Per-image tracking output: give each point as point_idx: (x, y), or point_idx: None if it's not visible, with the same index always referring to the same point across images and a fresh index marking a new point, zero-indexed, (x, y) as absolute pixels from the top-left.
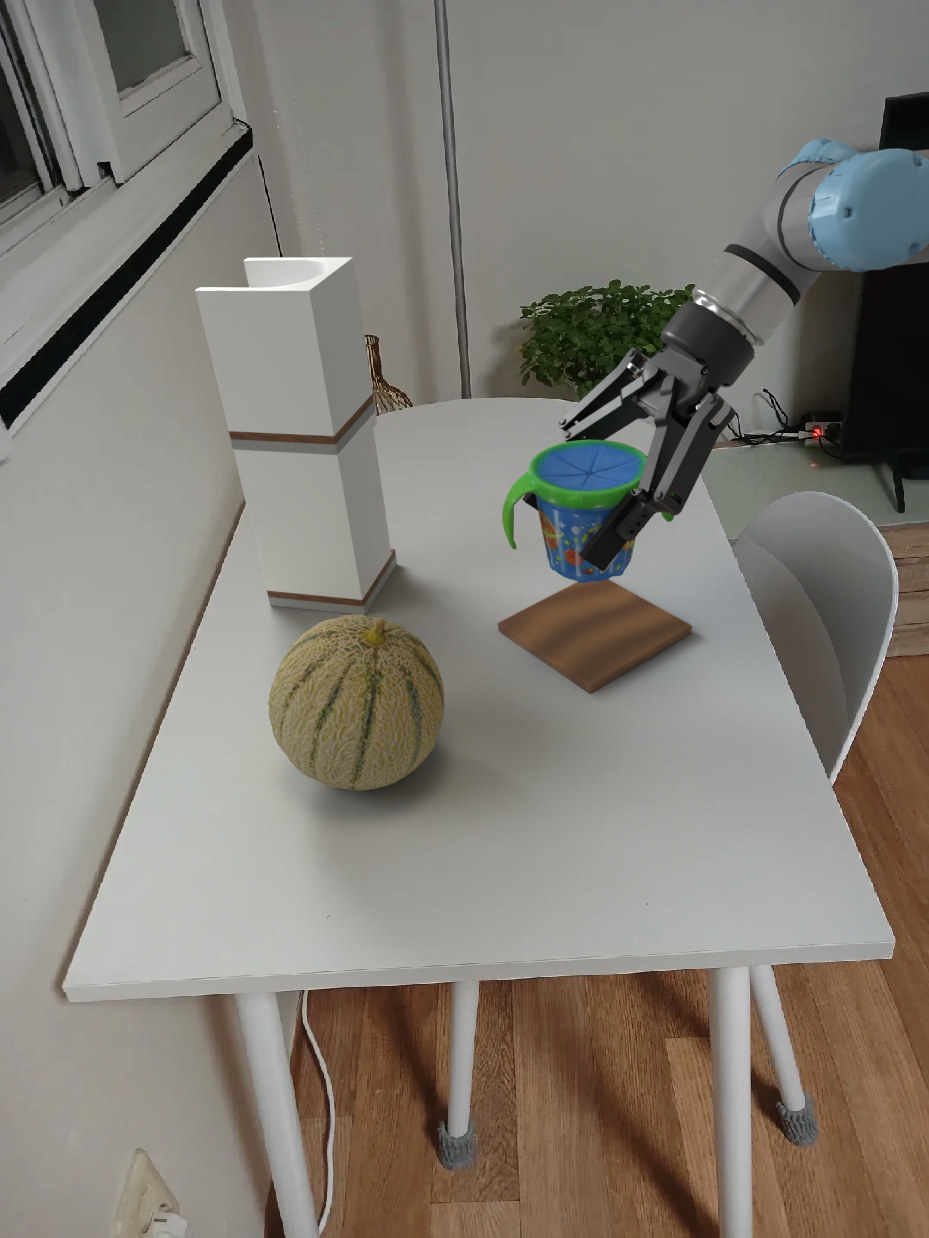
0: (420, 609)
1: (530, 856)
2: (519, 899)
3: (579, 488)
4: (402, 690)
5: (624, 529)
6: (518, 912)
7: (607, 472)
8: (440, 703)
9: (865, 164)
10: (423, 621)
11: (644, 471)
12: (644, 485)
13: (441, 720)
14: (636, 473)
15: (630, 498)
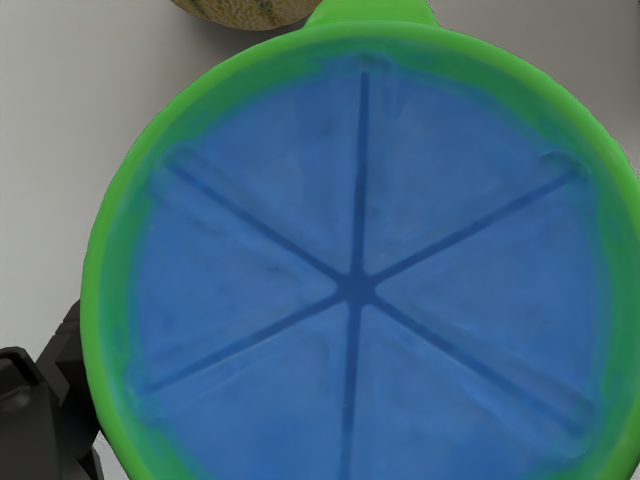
0: (627, 91)
1: (66, 123)
2: (22, 98)
3: (201, 182)
4: None
5: (72, 307)
6: (9, 93)
7: (320, 364)
8: None
9: None
10: (586, 90)
11: (47, 465)
12: (17, 424)
13: (186, 6)
14: (200, 468)
15: (62, 353)
